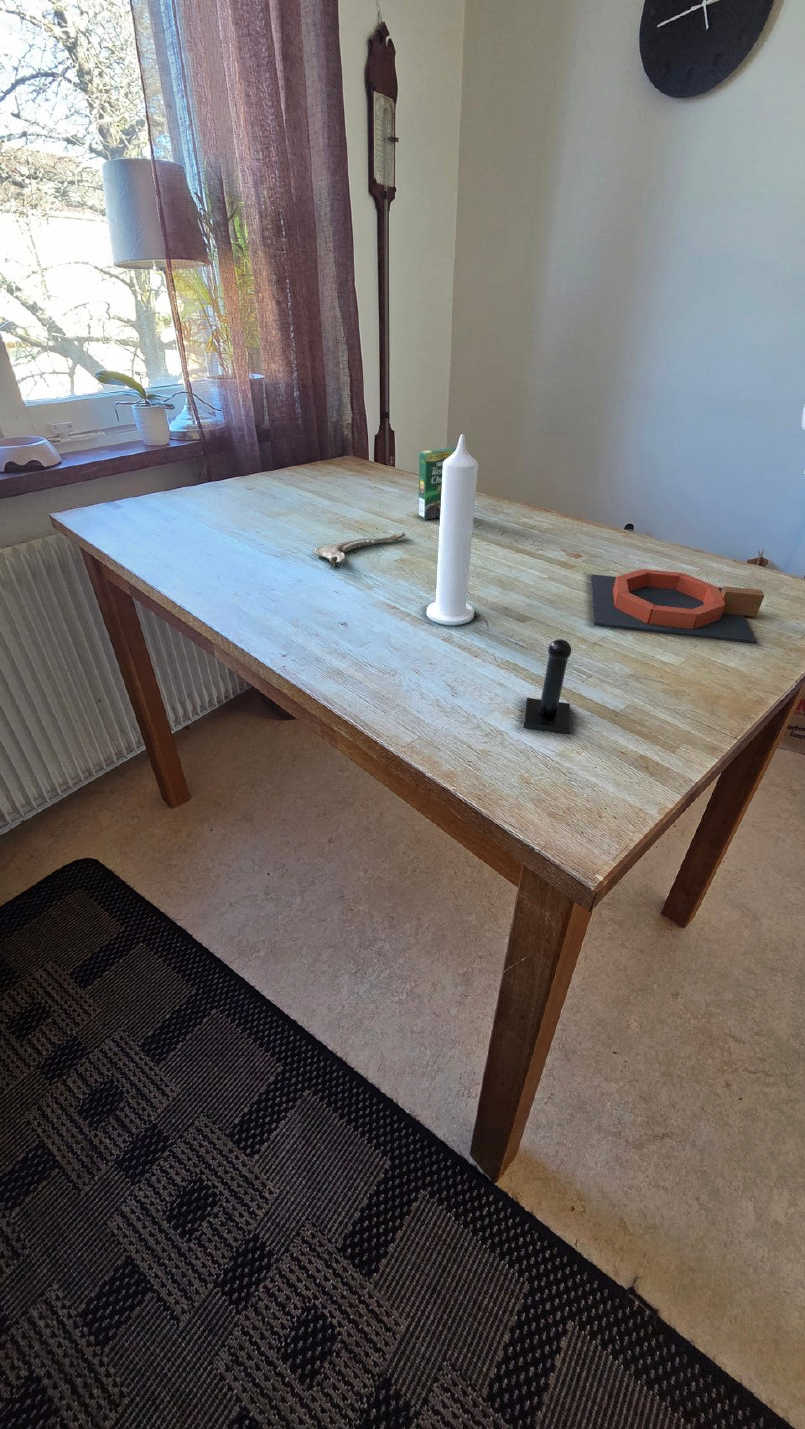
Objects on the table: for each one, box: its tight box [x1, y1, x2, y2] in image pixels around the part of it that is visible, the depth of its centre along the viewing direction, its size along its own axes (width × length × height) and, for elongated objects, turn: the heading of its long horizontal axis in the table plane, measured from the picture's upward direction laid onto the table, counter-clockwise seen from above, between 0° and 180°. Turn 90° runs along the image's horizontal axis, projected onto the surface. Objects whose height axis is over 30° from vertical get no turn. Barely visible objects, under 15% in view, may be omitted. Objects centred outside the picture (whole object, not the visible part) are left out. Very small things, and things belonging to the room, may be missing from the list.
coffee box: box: [417, 446, 457, 521], centre depth 123 cm, size 8×3×13 cm, turn 118°
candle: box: [426, 433, 479, 626], centre depth 83 cm, size 7×7×25 cm
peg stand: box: [523, 638, 572, 735], centre depth 66 cm, size 5×5×10 cm
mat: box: [590, 574, 757, 644], centre depth 93 cm, size 22×18×1 cm
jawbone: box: [313, 532, 406, 568], centre depth 110 cm, size 9×20×2 cm, turn 147°
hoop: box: [613, 568, 766, 629], centre depth 92 cm, size 21×15×4 cm
